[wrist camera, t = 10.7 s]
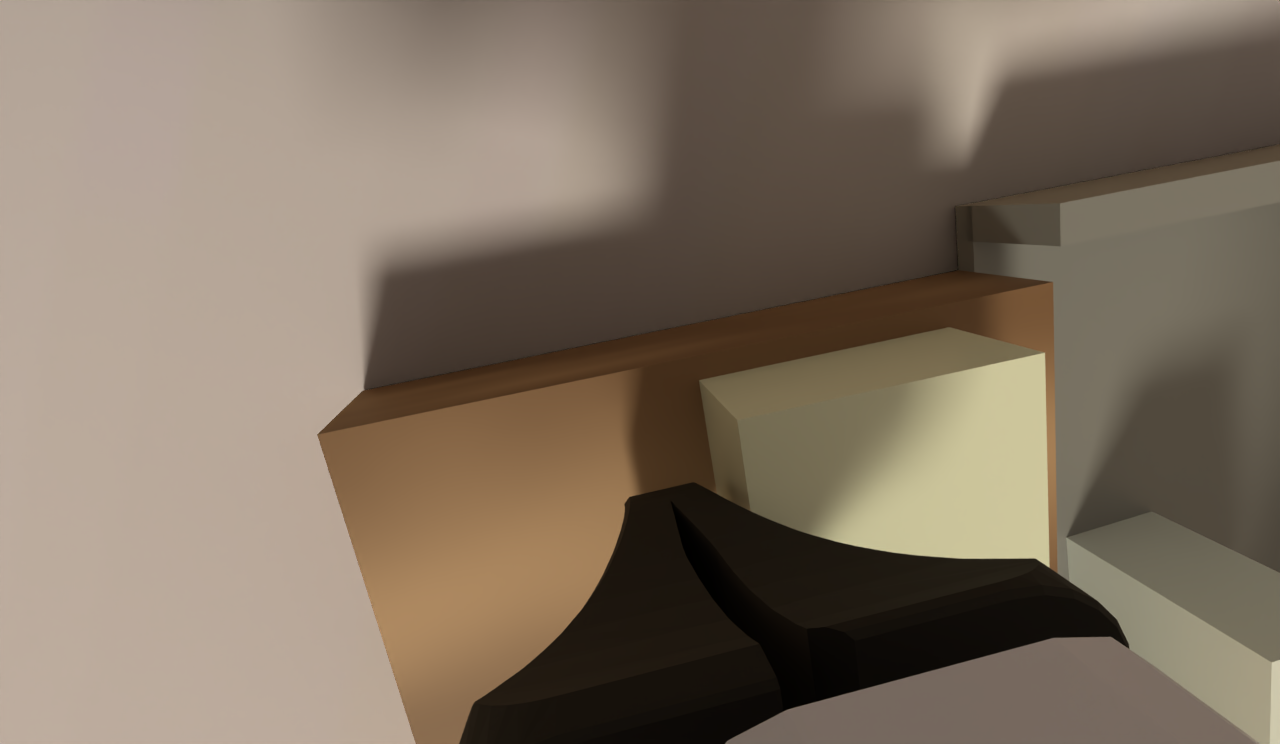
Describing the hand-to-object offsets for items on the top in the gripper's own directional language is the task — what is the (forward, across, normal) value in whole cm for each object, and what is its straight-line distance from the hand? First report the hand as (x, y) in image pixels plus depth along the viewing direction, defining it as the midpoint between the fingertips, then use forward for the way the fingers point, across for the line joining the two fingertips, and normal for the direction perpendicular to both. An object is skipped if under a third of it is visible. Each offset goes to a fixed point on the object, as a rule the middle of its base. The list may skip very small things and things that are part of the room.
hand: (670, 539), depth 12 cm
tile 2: (0, -4, 0) cm, 4 cm away
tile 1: (+1, -12, +7) cm, 14 cm away
